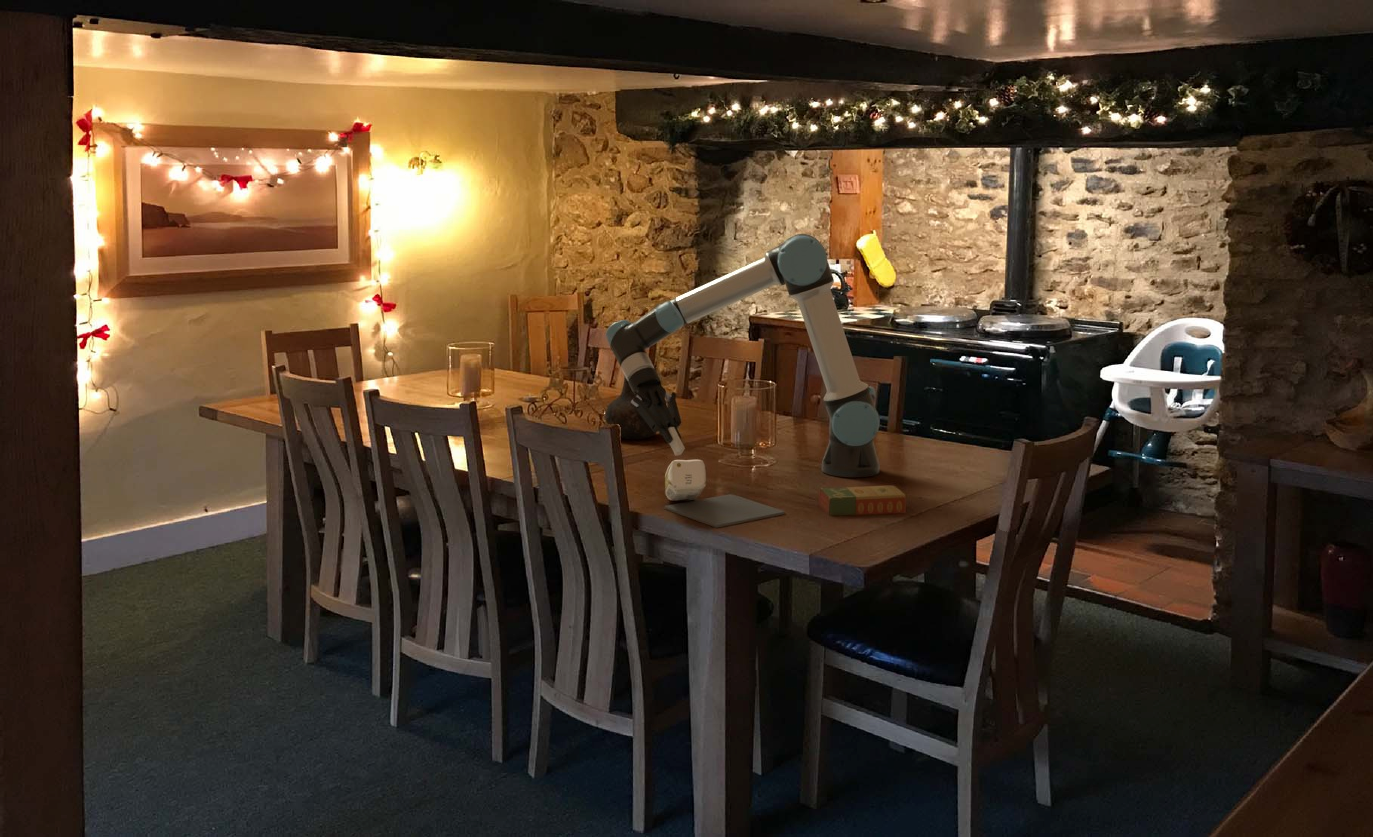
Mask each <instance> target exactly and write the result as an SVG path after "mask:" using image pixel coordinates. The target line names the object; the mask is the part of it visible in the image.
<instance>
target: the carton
mask: <svg viewBox="0 0 1373 837" xmlns="http://www.w3.org/2000/svg"><path fill="white" fill-rule="evenodd" d="M906 497H907V496H906V494H905V493H904V492H903V491H902V490H901V489H899V488H898V487H896V486H895V485H894V484H890V485H867V486H863V485H862V486H837V487H836V486H835V487H819V494H818V506H819V507H820V508H821V509H822V511H824V512H825V513H826V514H827V515H828V516H845V515H846V516H850V515H854V516H857V515H879V514H880V515H881V514H882V515H883V514H905V513H906V505H907V504H906V502H907V500H906Z"/></svg>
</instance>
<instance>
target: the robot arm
mask: <svg viewBox="0 0 1373 837" xmlns="http://www.w3.org/2000/svg"><path fill="white" fill-rule="evenodd" d="M834 282H835V280H834V277H833V272H832V270H831V267H830V263H829V262H828V255H827V252H826V249H825V247H824V245H823V244H822V242H820V241H819V240H818V238H816V237H815V236H812V235H810V234H804V233H800V234H795V235H793V236H790V237H789V238H787V239H786V240H784V242H782V243H781V244H778V245H777V246H775V247H773V248H772V249H770V250H767V251H766V252H765V253H764V256H763V257H761V258H759V259H757V260H755V261H753V262H751V263H749V264H746V265H744V266H742V267H740V268H738V269H736V270H733V271H731V272H729V273H727V274H725V275H722V276H720V277H718V278H716V279H714V280H711V281H708V282H707V283H704V284H703V285H700V286H698V287H696V288H694V289H692V290H690V291H687V292H685V293H683V294H681V295H679V296H677V297H674V298H672V299H670V300H666V301H665V302H662V303H659V304H656V306H654V307H653V309H651V310H650V311H649V312H648V313H645V314H644V315H643V316H641V317H640V318H639V319H637V320H635V321H634V322H631V321H630V320H627V319H621V320H618V321H615V322H613V323H612V324H611V325H609V326H608V328H607V329H606V331H605V337H606V340H607V343H608V345H609V348H610V349H611V351H612V353H613V355H614V357H615V360H616V361H617V362H618V364H619V367H620V369H621V371H622V373H623V374H624V375H623V376H624V377H626V379H627V381H628V383H629V385H630V387H631V389H632V391H633V393H634V394H635V397H634V398H633V399H632V401H631V403H630V405H631V406H632V407H634V408H635V409H636V410H637V411H638V412H639V414H640V415H641V416H642V418H643V419H644V420H645V421H646V423H647V424H648V425H649V427H650V428H651V429H652V431H653V432H656V433H657V432H658V436H662V437H663V439H664V441H665V442H666V443H667V444H668V445H669V446H670V448H671V450H672V452H673V454H674V456H675V457H676V456H681V455H682V454H683V452H684V450H685V449H686V448H685V446H684V444H683V442H682V436H681V433H680V432H679V430H678V429H679V427H680V426H681V425H682V418H681V415H680V411H679V408H678V407H679V406H678V403H677V400H676V399H677V393H676V392H674V391H673V392H671V393H669V392H668V391H666V390H667V389H666V388H665V387H663V385H662V382H661V377H660V376H659V374H658V372H657V370H656V369H655V366H654V364H653V363H652V362H653V361H651V359H650V357H649V355H648V353H647V350H648V349H650V348H651V347H652V346H654V345H655V344H657V343H659V342H660V341H662V340H664V339H665V338H667V337H669V336H670V335H672V334H674V333H676V331H678V330H679V329H680V328H682V327H684V326H686V325H688V324H690V323H692V322H694V321H697V320H699V319H702V318H704V317H706V316H708V315H710V314H712V313H715V312H717V311H720V310H721V309H723V308H725V307H728V306H730V305H732V304H735V303H737V302H739V301H742V300H743V299H746V298H748V297H751V296H753V295H755V294H758V293H759V292H762V291H764V290H766V289H769V288H771V287H773V286H776V285H777V286H780V287H782V286H785V287H786V290H787V294H788V296H789V297H790V298H792V299H794V300H796V302H797V304H798V307H799V310H800V313H801V316H802V320H803V322H804V326H805V328H806V331H807V335H808V337H809V341H810V343H811V347H812V349H813V352H814V355H815V358H816V361H817V364H818V368H819V371H820V374H821V377H822V381H823V383H824V386H825V388H826V389H825V390H826V393H825V395H824V397H823V402H824V405H825V409H826V411H827V414H828V418H829V428H828V430H829V435H828V441H829V442H828V444H827V447H826V449H825V452H824V456H823V458H822V461H821V471H822V472H823V473H825V474H827V475H829V476H834V477H841V478H867V477H872V476H876V475H878V474H879V473H880V462H879V458H878V455H877V451H876V448H875V445H874V444H875V443H874V440H875V437H876V436H877V434H878V431H879V428H880V424H881V421H880V414H879V412H878V411H877V409H876V398H877V396H876V389H875V388H874V386H871V385H870V386H869V384H868V383H866V382H863V381H861V379H860V376H859V373H858V370H857V367H856V364H855V361H854V358H853V355H852V352H851V349H850V346H849V343H848V340H847V336H846V334H845V330H844V328H843V324H842V321H841V318H840V314H839V312H838V308H837V306H836V303H835V300H834V296H833V293H832V291H831V289H832V286H833V285H834Z"/></svg>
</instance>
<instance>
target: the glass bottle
mask: <svg viewBox="0 0 1373 837" xmlns="http://www.w3.org/2000/svg"><path fill="white" fill-rule="evenodd" d="M634 397H635V394H634V393H633V391H632V389H631V387H630V385H629V383H628V381H627V379H626V377H625V376H624V378H623V385H622V389H621V392H620V395H619V396H618V397H617V398H615V399H613V400H612V401H610V402H609V404H608V405H607V407H606V409H605V412H604V413H605V414H604V418H605V419H604V420H605V424H606V425H607V424H619V425H620V427H621V438H622V439H625V440H643V439H648V438H651V437H652V436H654V435H656V434H657V432H653V431H652V429H651V428H650V427H649V425H648V424H647V423H646V421H645V420H644V419H643V418H642V416H641V415H640V414H639V412H638V411H637V410H636V409H635V408H634V407H632V406H631V405H630V403H631V401H632V399H633V398H634Z"/></svg>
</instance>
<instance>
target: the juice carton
mask: <svg viewBox="0 0 1373 837" xmlns="http://www.w3.org/2000/svg"><path fill="white" fill-rule="evenodd" d="M706 473H707V471H706V465H705V463H704V461H703V460H701V459H687V460H686V459H674V460H672V461H671V463H670V464H669V465H668V466H667V469H666V471H665V474H664V487H665V488H664V490H665V491H664V492H665V493H664V494H665V496H666V497H667V500H669V501H683V500H684V501H695V500H697V498H699V497H700V495H701V494H702V492H703V491H704V489H705V487H706V483H707V482H706V480H707V475H706Z"/></svg>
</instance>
